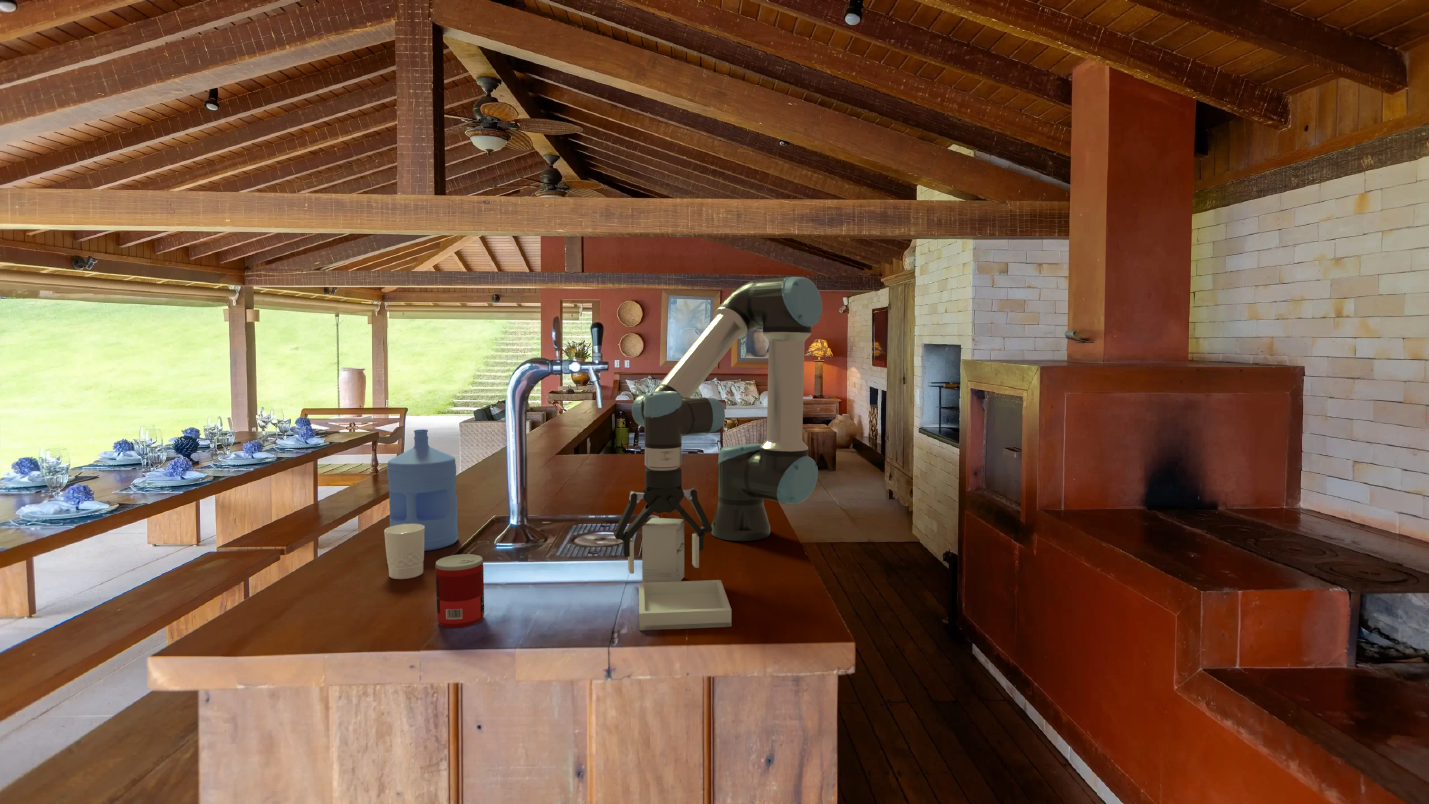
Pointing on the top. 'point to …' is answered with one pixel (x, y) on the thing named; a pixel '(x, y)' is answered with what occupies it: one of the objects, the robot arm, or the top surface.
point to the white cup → (405, 550)
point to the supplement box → (663, 550)
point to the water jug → (424, 492)
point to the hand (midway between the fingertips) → (663, 568)
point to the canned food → (460, 590)
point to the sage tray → (683, 605)
